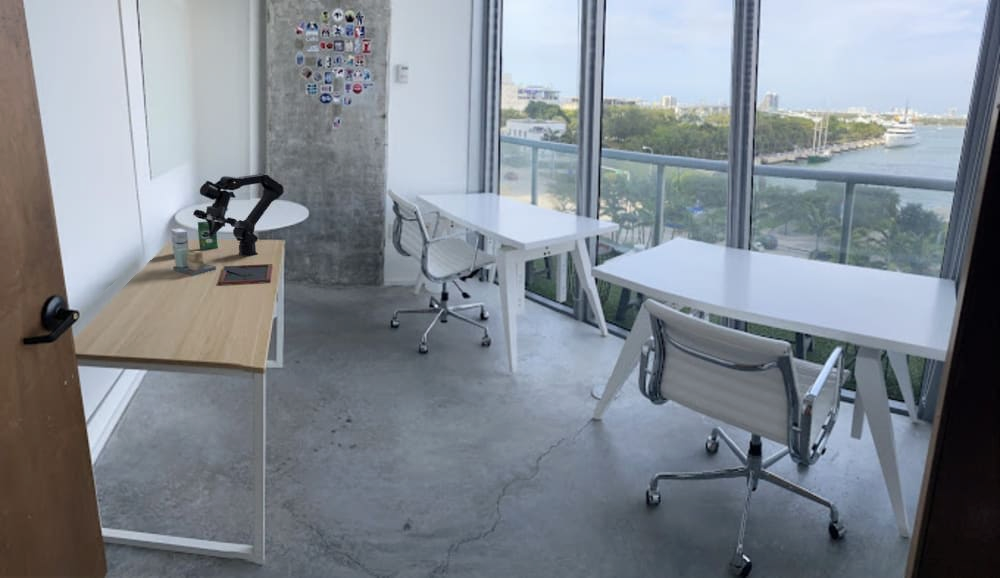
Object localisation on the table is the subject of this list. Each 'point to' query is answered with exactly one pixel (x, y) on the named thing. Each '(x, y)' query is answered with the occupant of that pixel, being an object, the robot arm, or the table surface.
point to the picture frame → (246, 274)
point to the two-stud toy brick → (181, 257)
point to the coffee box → (206, 236)
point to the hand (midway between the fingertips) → (210, 237)
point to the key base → (195, 272)
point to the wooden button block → (194, 260)
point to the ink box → (179, 239)
